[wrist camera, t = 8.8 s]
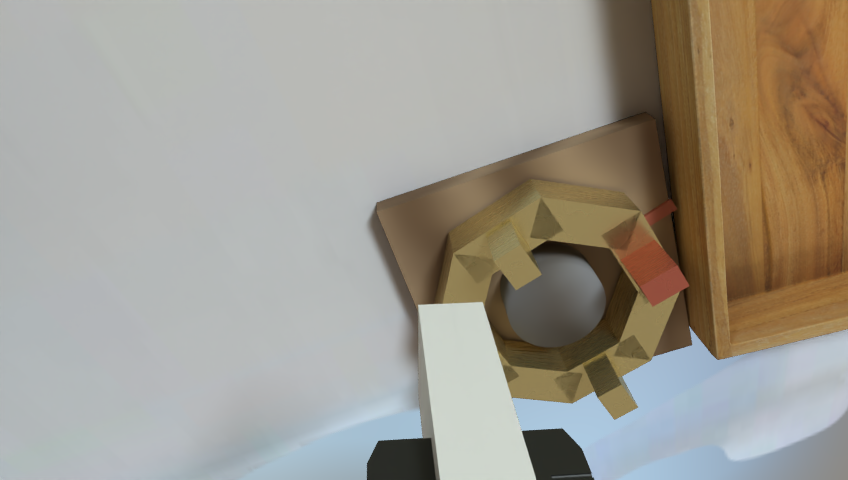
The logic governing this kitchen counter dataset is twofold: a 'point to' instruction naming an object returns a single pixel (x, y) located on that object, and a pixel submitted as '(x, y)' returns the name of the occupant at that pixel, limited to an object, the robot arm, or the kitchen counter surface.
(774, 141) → the tray
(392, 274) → the kitchen counter surface
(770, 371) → the kitchen counter surface
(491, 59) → the kitchen counter surface
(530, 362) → the ring nut
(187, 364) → the kitchen counter surface
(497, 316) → the walnut base
